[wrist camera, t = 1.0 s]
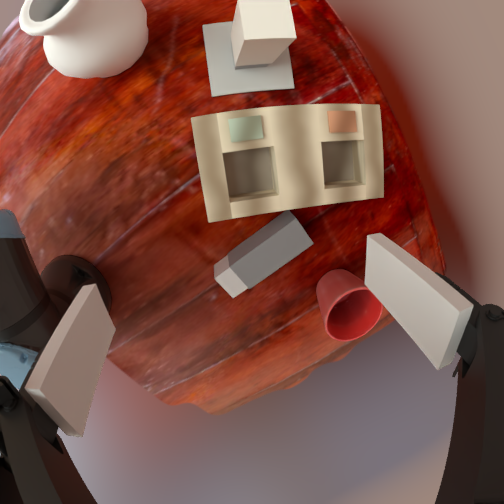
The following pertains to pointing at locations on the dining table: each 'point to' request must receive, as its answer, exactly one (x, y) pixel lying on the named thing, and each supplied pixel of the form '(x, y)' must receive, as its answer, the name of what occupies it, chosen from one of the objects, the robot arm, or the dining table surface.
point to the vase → (88, 34)
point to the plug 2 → (262, 254)
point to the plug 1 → (261, 32)
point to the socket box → (288, 157)
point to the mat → (241, 80)
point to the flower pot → (347, 305)
